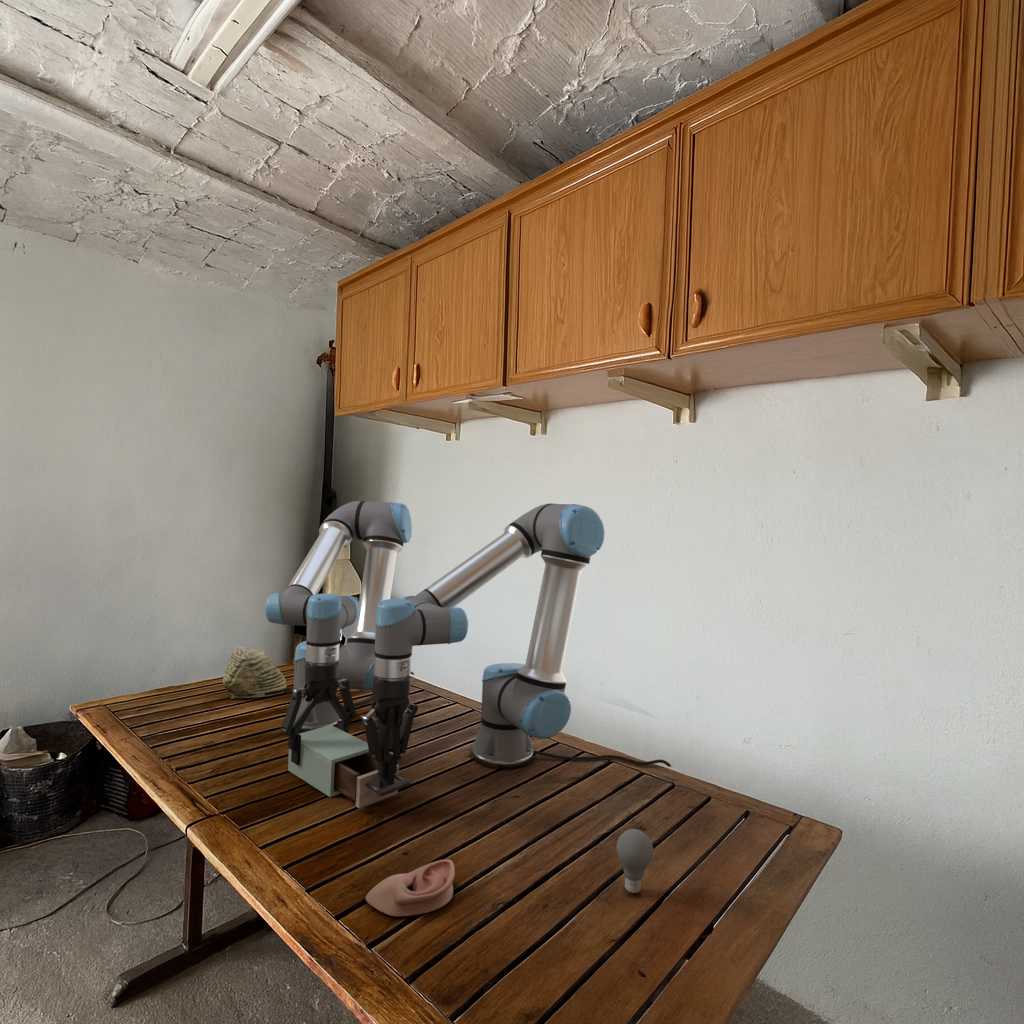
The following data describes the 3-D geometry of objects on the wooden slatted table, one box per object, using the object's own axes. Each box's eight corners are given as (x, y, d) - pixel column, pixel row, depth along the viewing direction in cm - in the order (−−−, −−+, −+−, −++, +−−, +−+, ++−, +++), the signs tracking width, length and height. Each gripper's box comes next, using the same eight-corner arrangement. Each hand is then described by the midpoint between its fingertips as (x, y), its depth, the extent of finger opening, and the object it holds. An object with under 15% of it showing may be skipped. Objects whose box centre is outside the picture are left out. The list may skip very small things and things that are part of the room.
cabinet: (373, 781, 142) (374, 746, 142) (330, 797, 134) (331, 760, 134) (329, 757, 154) (331, 724, 154) (287, 770, 146) (289, 736, 145)
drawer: (414, 802, 131) (415, 773, 131) (375, 818, 124) (376, 787, 124) (353, 768, 146) (354, 742, 146) (315, 781, 139) (316, 753, 139)
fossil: (218, 695, 195) (220, 647, 195) (278, 685, 208) (279, 640, 207) (228, 703, 189) (230, 653, 188) (289, 692, 201) (290, 645, 201)
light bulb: (610, 879, 108) (613, 822, 108) (644, 879, 109) (647, 822, 109) (619, 902, 102) (622, 840, 102) (655, 901, 103) (658, 840, 103)
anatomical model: (357, 884, 98) (387, 845, 109) (356, 910, 98) (386, 868, 109) (440, 899, 95) (461, 857, 106) (439, 925, 95) (460, 881, 106)
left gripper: (283, 674, 135) (279, 775, 136) (374, 657, 153) (370, 747, 153) (266, 666, 140) (262, 764, 141) (356, 651, 158) (352, 738, 158)
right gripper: (376, 686, 122) (370, 807, 122) (428, 674, 131) (423, 787, 132) (354, 677, 127) (348, 793, 127) (406, 667, 136) (400, 775, 137)
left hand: (318, 755), depth 147 cm, fingers closed on cabinet, 11 cm apart
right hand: (386, 790), depth 129 cm, fingers closed
